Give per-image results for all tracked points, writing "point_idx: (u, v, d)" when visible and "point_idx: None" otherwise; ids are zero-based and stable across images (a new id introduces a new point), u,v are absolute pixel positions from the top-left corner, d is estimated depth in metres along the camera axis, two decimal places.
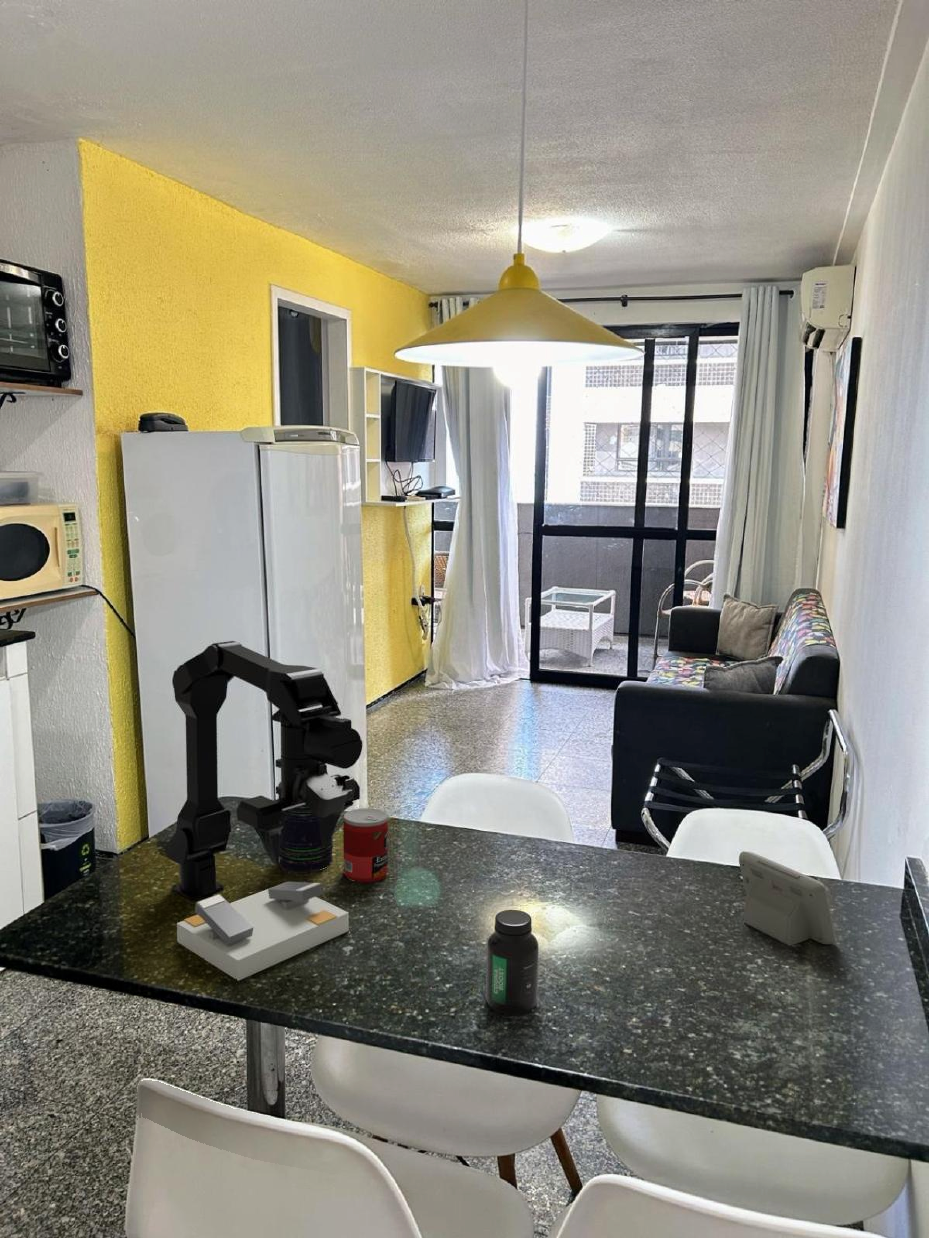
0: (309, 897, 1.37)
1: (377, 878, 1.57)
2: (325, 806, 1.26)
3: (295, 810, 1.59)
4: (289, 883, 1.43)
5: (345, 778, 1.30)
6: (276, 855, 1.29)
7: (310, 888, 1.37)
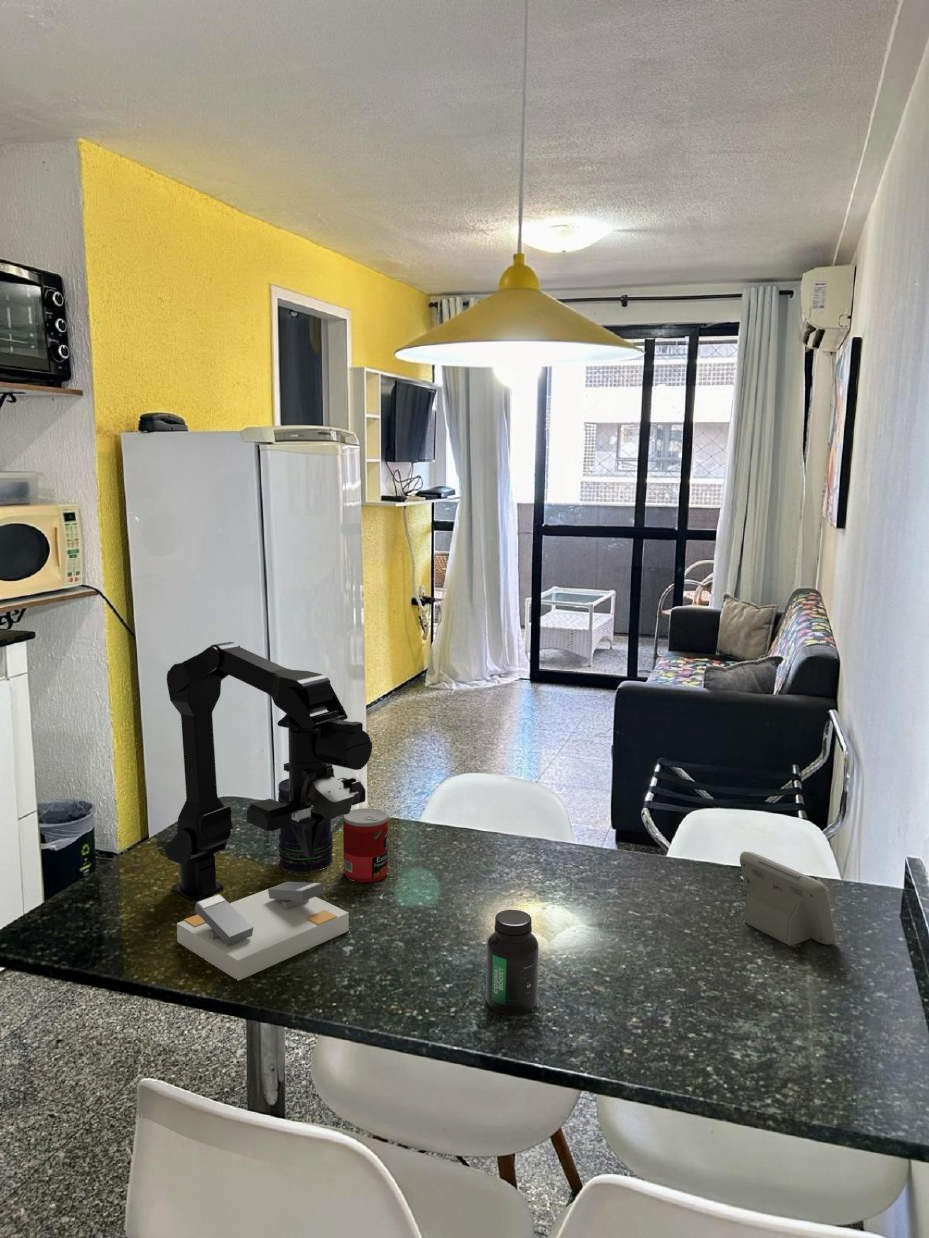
0: (309, 897, 1.37)
1: (377, 878, 1.57)
2: (333, 808, 1.29)
3: None
4: (289, 883, 1.43)
5: (352, 781, 1.34)
6: (309, 848, 1.36)
7: (310, 888, 1.37)
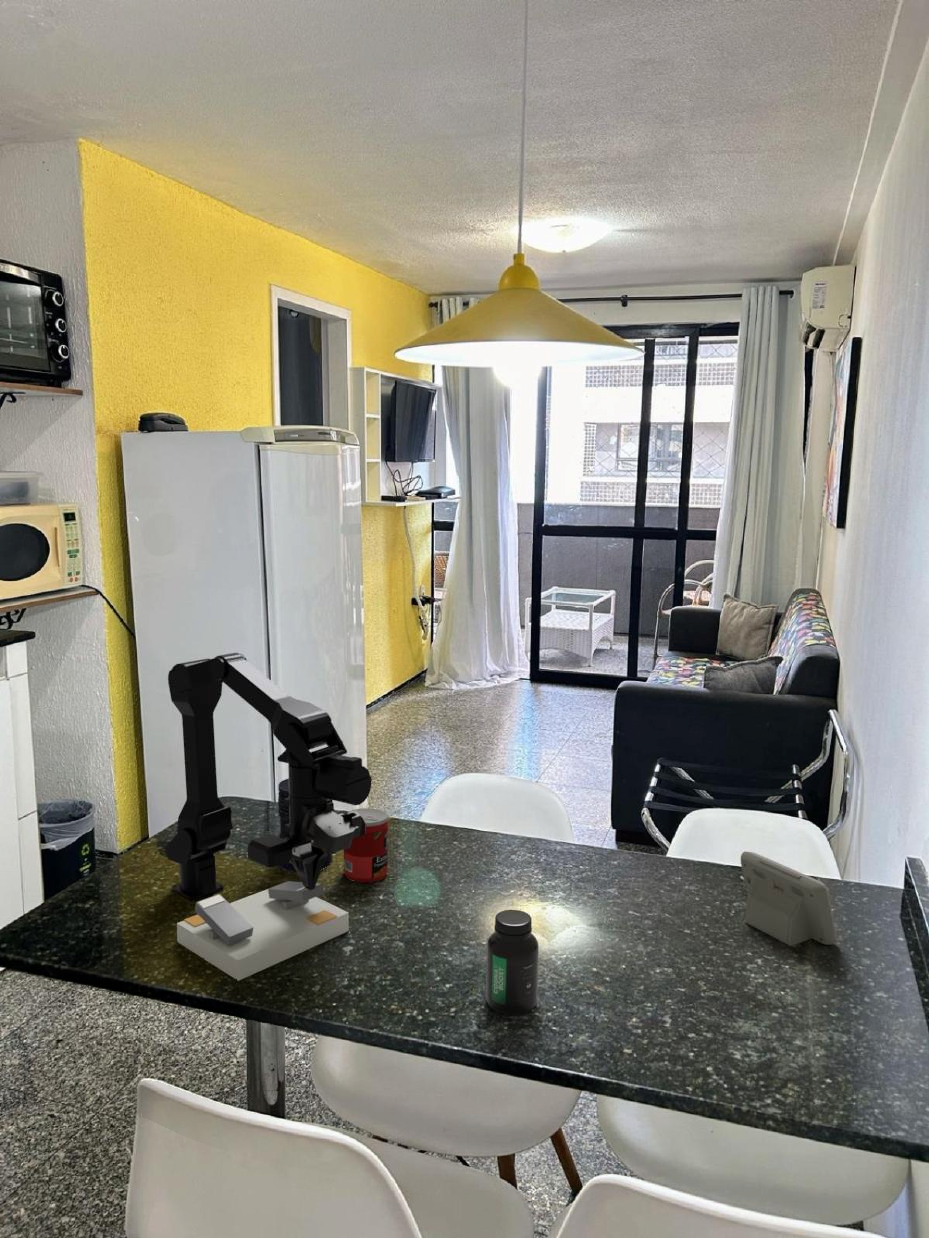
0: (309, 897, 1.37)
1: (377, 878, 1.57)
2: (333, 844, 1.30)
3: None
4: (289, 883, 1.43)
5: (352, 815, 1.35)
6: (310, 882, 1.37)
7: None
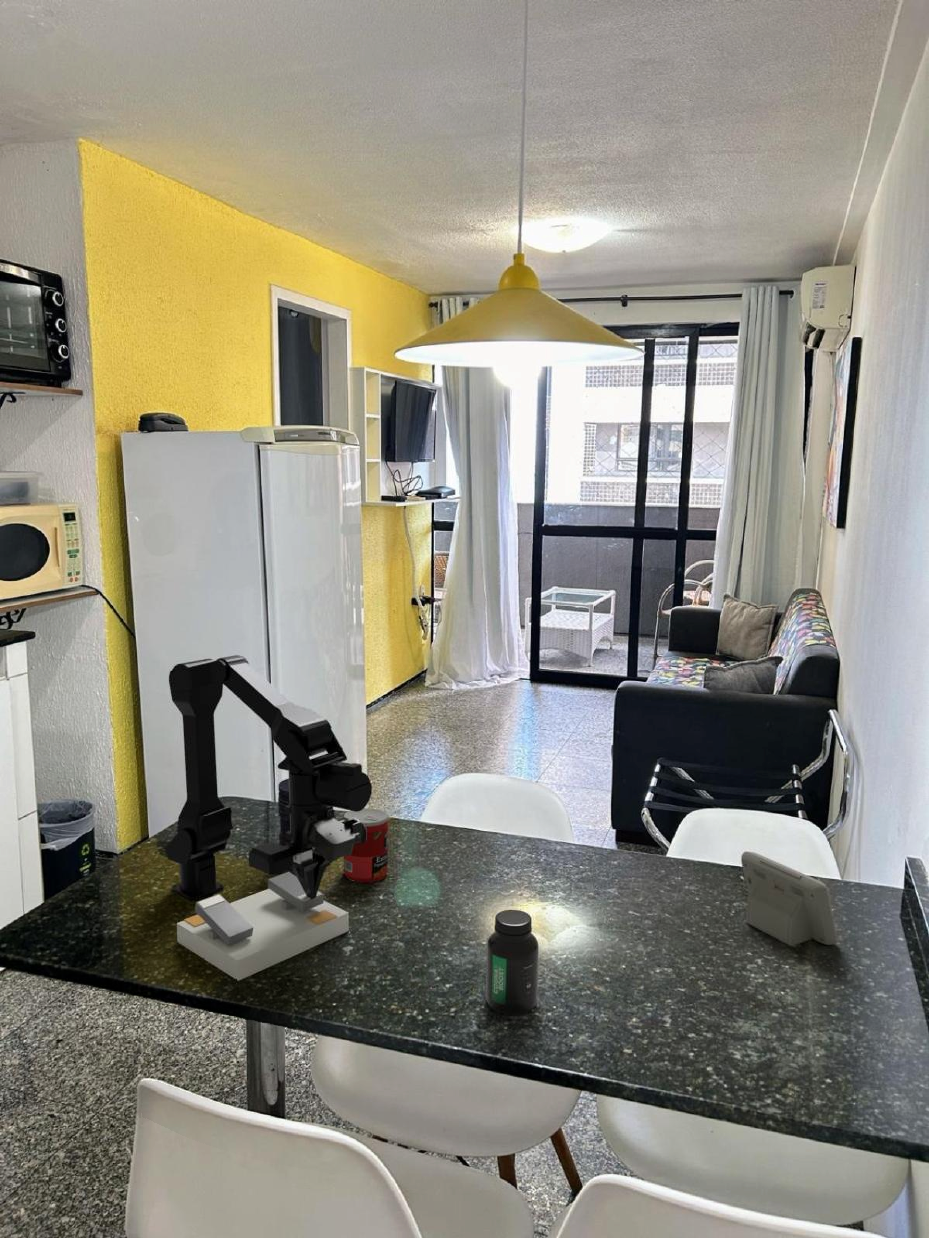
0: (309, 907, 1.37)
1: (377, 878, 1.57)
2: (334, 850, 1.30)
3: None
4: (290, 877, 1.43)
5: (352, 822, 1.35)
6: (311, 890, 1.37)
7: (312, 899, 1.37)
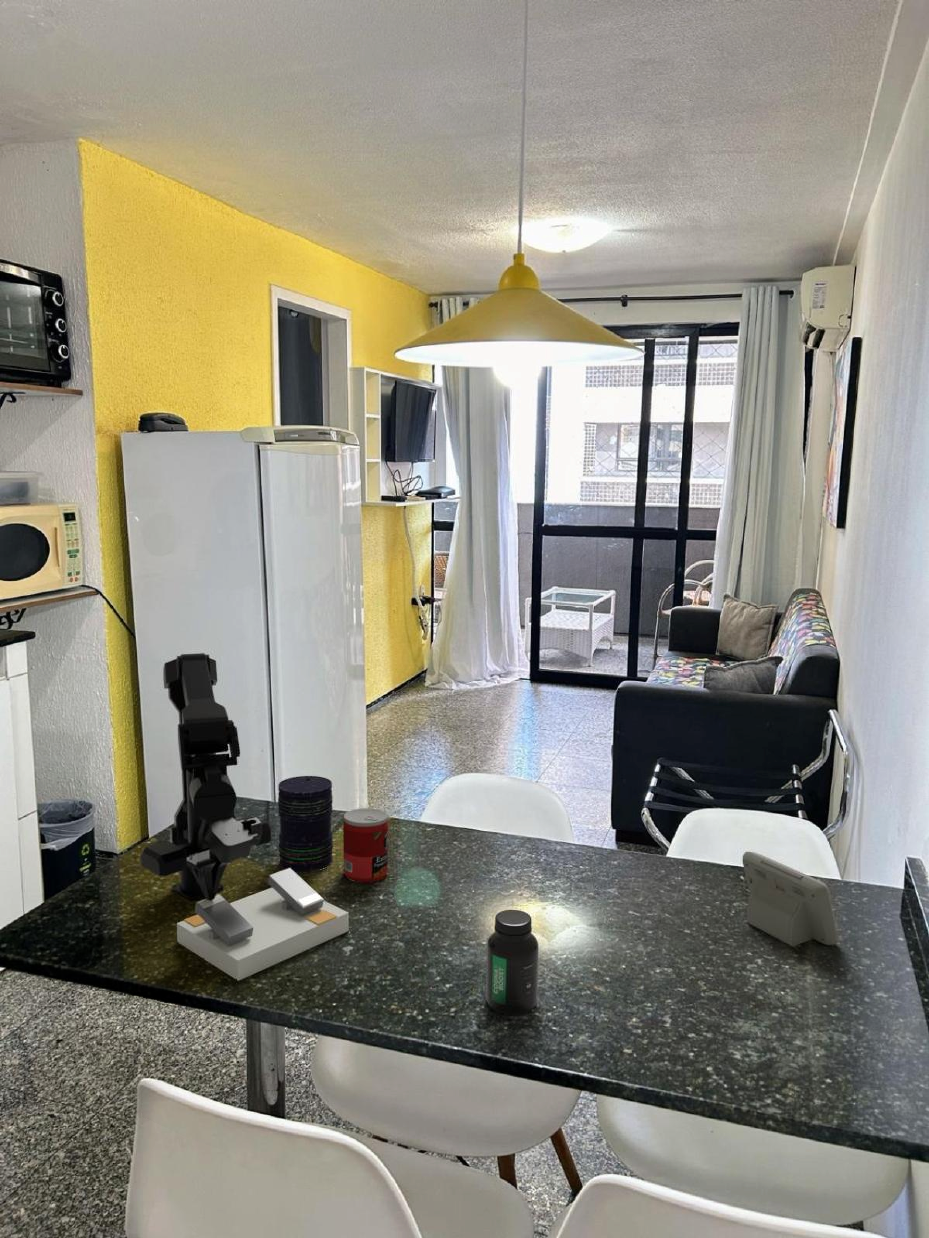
0: (308, 911, 1.37)
1: (377, 878, 1.57)
2: (228, 852, 1.25)
3: (295, 810, 1.59)
4: (290, 874, 1.43)
5: (252, 822, 1.30)
6: (209, 891, 1.32)
7: (312, 904, 1.37)
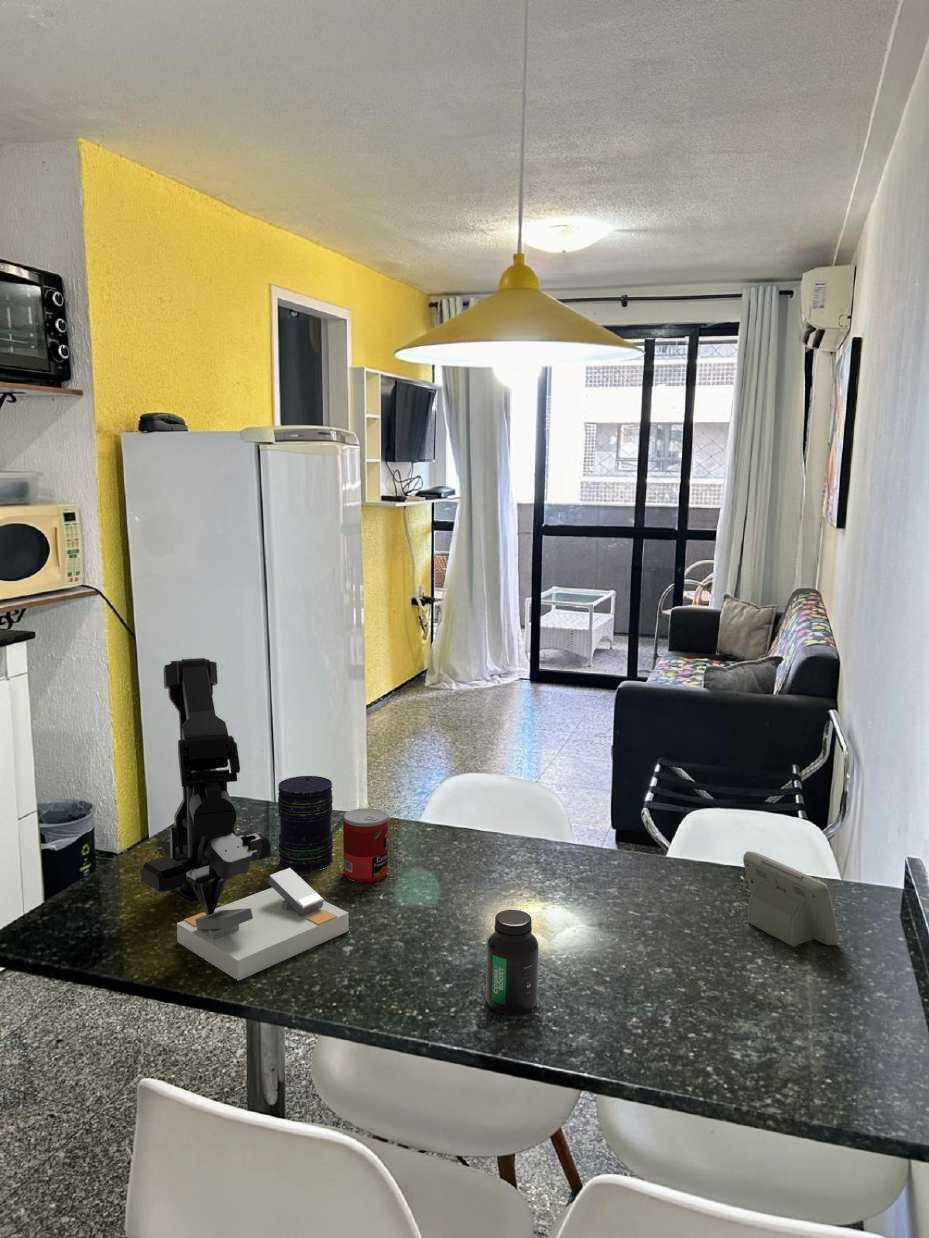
0: (308, 912, 1.37)
1: (377, 878, 1.57)
2: (228, 868, 1.26)
3: (295, 810, 1.59)
4: (290, 874, 1.43)
5: (251, 838, 1.30)
6: (208, 906, 1.32)
7: (312, 904, 1.37)
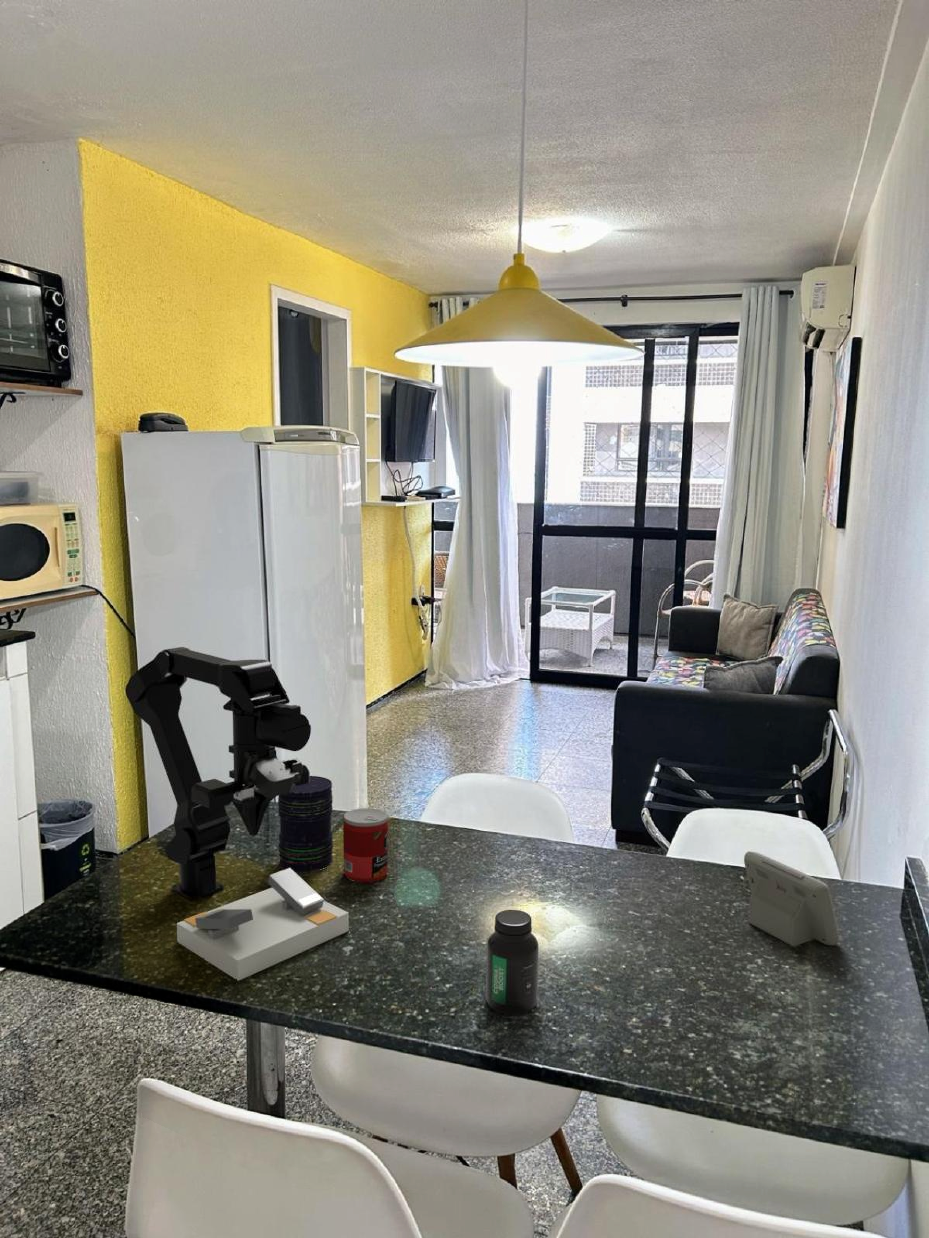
0: (308, 912, 1.37)
1: (377, 878, 1.57)
2: (272, 787, 1.35)
3: (295, 810, 1.59)
4: (291, 874, 1.43)
5: (293, 762, 1.40)
6: (253, 827, 1.42)
7: (312, 904, 1.37)
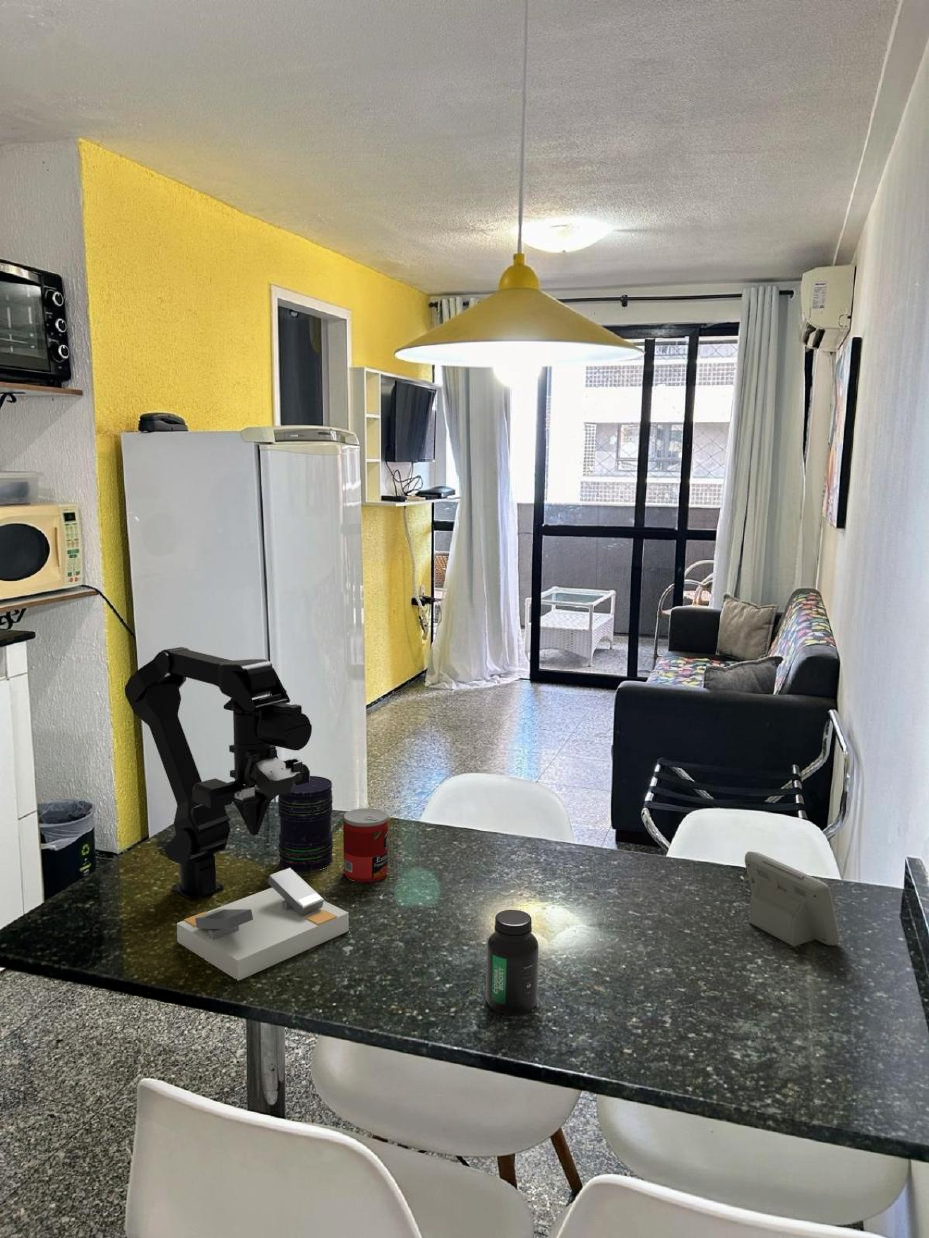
0: (308, 912, 1.37)
1: (377, 878, 1.57)
2: (274, 787, 1.35)
3: (295, 810, 1.59)
4: (291, 874, 1.43)
5: (294, 761, 1.40)
6: (253, 826, 1.42)
7: (312, 904, 1.37)
